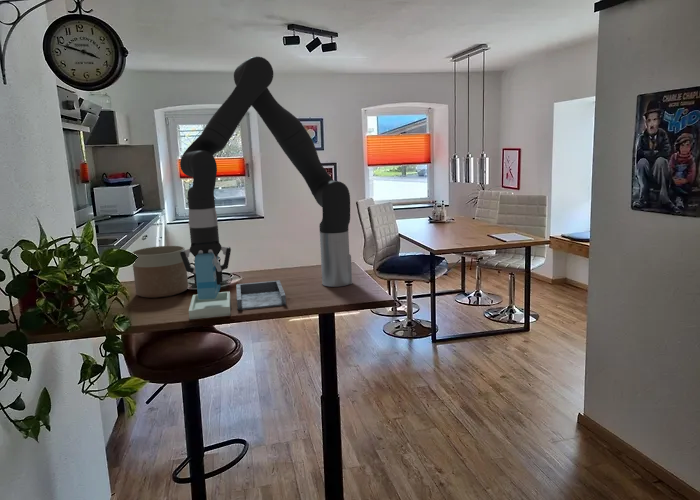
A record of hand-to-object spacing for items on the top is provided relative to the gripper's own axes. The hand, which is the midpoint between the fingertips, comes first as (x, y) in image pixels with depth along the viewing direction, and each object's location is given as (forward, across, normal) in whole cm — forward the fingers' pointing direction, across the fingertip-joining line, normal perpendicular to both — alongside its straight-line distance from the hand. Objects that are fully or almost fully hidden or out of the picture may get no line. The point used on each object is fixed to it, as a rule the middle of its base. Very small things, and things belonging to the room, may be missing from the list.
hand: (209, 284), depth 147 cm
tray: (+7, 0, 0) cm, 7 cm away
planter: (+7, +16, -25) cm, 30 cm away
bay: (+7, -14, -5) cm, 16 cm away
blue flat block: (+3, 0, 0) cm, 3 cm away
